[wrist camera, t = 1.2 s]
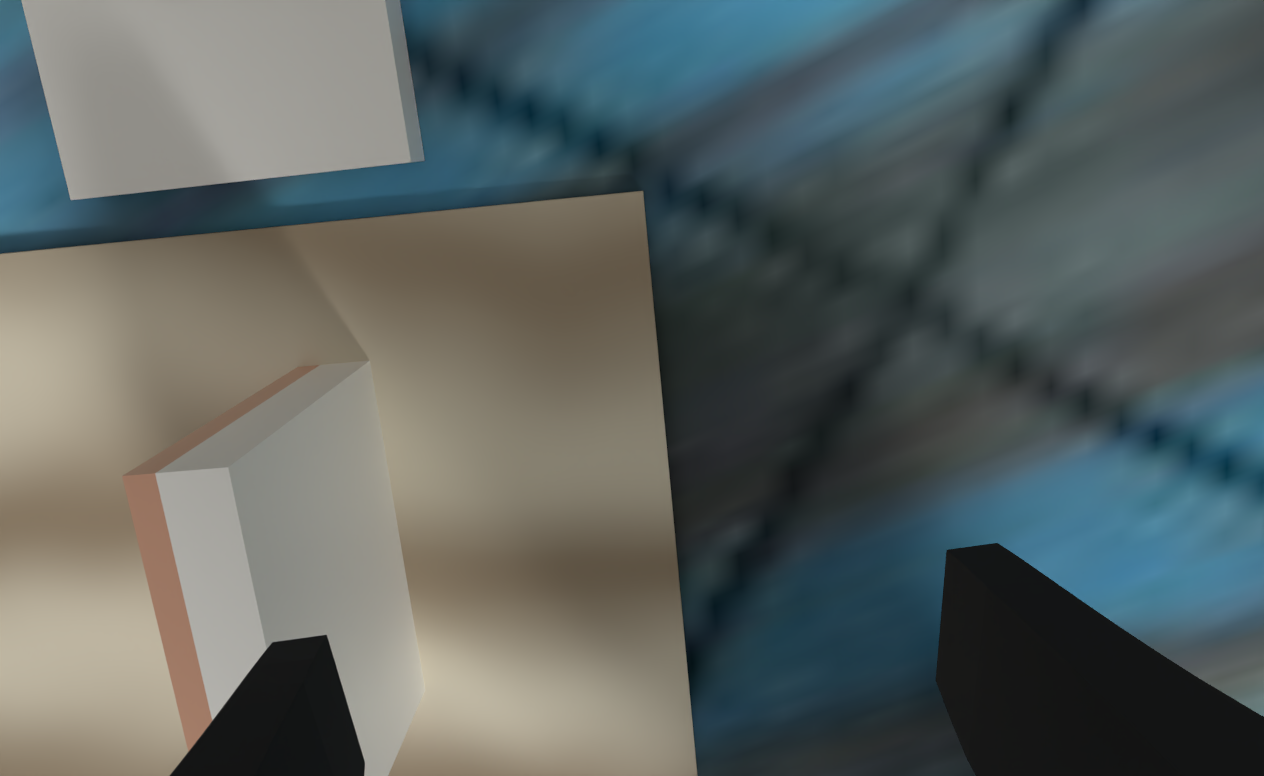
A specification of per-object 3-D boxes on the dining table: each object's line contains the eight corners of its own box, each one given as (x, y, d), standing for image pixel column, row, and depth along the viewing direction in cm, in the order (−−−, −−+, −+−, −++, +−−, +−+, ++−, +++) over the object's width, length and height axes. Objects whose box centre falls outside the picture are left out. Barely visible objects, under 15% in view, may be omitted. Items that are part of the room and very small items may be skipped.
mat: (697, 775, 23) (697, 783, 23) (-12, 820, 24) (-21, 829, 24) (643, 190, 20) (642, 191, 20) (-180, 271, 21) (-192, 272, 21)
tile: (425, 690, 23) (324, 922, 16) (358, 694, 23) (230, 927, 16) (370, 360, 21) (228, 466, 14) (297, 366, 21) (122, 476, 14)
